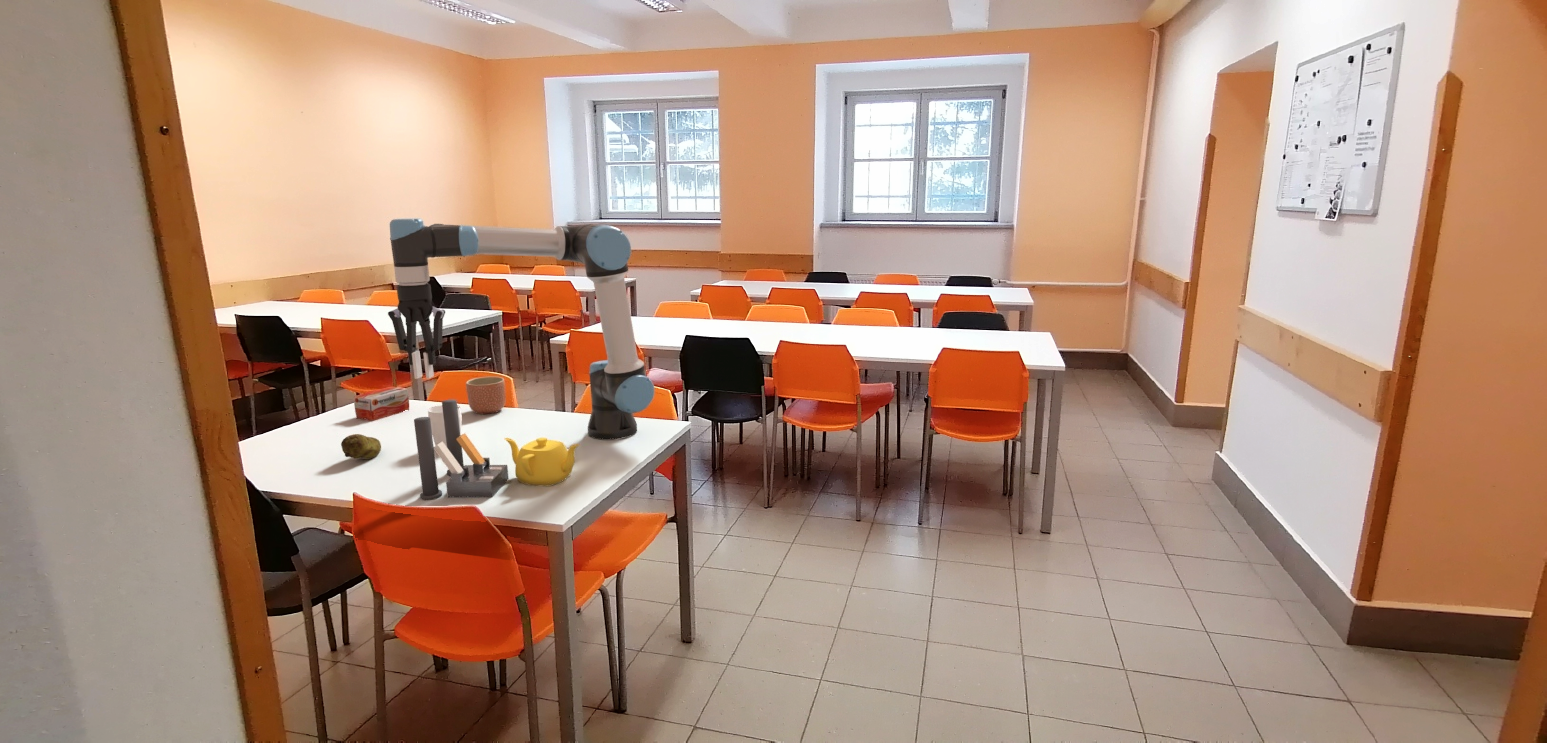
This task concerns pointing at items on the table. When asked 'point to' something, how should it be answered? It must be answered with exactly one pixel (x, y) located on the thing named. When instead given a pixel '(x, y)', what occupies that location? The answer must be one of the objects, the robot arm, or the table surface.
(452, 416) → the post
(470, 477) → the breaker panel
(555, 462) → the teapot
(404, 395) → the medicine box
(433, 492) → the cable post
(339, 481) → the table surface
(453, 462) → the ivory paddle
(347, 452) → the potato
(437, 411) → the cup
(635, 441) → the table surface
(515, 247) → the robot arm
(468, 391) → the planter
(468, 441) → the orange paddle
